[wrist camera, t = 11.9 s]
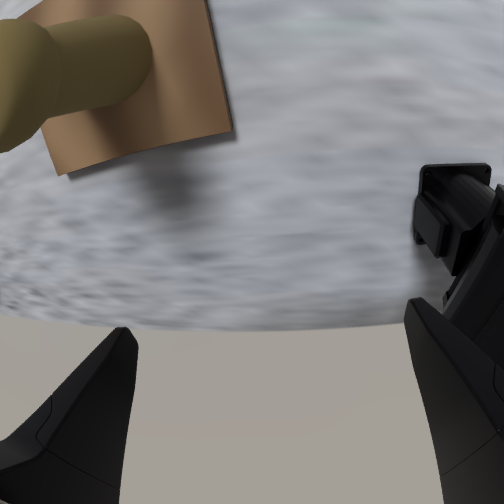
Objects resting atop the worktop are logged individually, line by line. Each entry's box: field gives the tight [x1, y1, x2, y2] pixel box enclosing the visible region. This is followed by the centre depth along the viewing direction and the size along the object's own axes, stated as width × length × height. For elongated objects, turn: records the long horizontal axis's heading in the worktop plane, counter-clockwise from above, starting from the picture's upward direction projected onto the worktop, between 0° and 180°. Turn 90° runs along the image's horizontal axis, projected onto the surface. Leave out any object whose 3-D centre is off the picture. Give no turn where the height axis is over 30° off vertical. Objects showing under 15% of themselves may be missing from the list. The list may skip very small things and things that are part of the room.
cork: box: [0, 14, 152, 153], centre depth 10 cm, size 6×6×11 cm
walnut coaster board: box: [17, 0, 233, 176], centre depth 15 cm, size 13×13×1 cm
